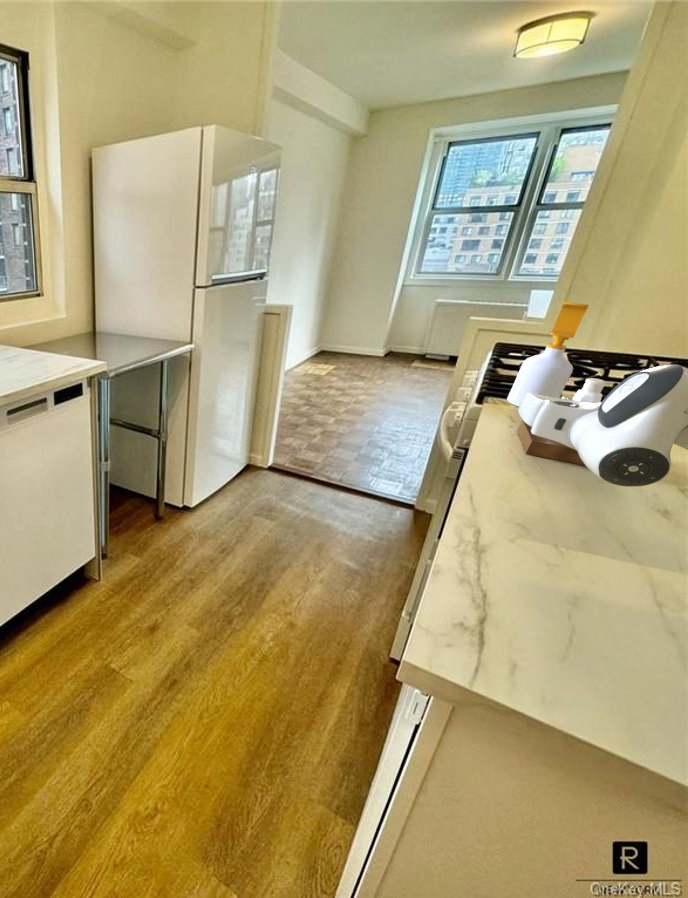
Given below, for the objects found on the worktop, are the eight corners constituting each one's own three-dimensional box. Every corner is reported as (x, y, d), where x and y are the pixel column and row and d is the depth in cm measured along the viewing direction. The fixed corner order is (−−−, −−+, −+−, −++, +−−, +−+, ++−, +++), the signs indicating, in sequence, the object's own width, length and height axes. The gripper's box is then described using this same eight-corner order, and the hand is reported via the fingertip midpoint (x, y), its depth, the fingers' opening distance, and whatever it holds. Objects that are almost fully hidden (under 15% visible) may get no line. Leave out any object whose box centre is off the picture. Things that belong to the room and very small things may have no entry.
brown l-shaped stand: (589, 444, 100) (609, 409, 96) (606, 469, 91) (628, 431, 87) (516, 431, 105) (532, 397, 101) (525, 453, 96) (543, 417, 92)
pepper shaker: (592, 441, 92) (622, 386, 87) (556, 435, 94) (584, 382, 89) (581, 430, 96) (609, 377, 91) (546, 425, 98) (572, 373, 93)
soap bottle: (503, 404, 119) (548, 302, 107) (509, 395, 124) (552, 297, 113) (551, 415, 113) (604, 308, 102) (555, 404, 119) (605, 302, 107)
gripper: (700, 426, 76) (667, 398, 87) (535, 400, 86) (523, 378, 96) (677, 461, 79) (647, 430, 90) (520, 432, 89) (510, 407, 99)
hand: (582, 403), depth 93 cm, fingers closed on pepper shaker, 4 cm apart
